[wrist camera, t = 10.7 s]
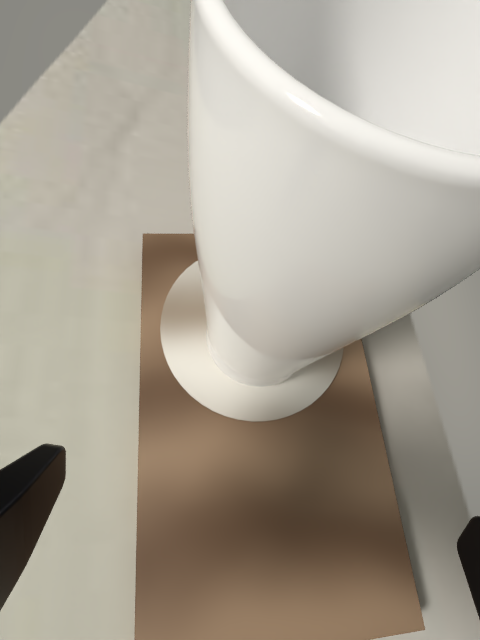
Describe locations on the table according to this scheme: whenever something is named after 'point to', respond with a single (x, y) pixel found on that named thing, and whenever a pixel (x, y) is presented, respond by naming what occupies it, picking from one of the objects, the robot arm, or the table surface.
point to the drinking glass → (328, 170)
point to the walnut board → (258, 487)
